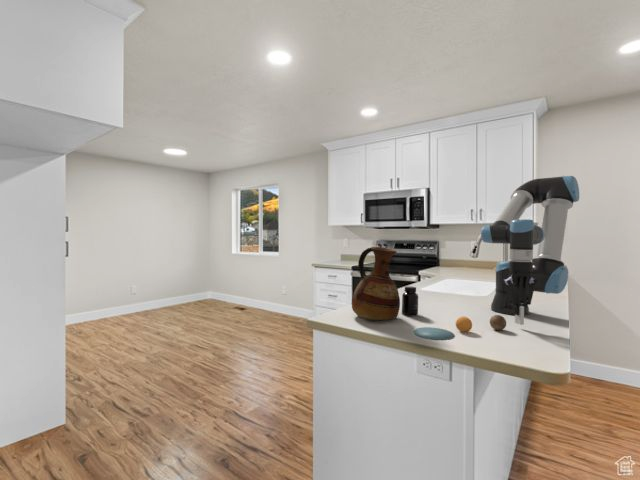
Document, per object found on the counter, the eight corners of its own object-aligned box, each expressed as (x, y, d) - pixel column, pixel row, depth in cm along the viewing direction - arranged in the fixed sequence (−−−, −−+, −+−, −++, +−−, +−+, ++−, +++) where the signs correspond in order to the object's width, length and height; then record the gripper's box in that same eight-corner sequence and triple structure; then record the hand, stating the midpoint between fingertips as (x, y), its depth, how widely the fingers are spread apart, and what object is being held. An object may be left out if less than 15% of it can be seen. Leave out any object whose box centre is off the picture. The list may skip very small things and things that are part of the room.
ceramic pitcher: (391, 327, 128) (392, 248, 127) (343, 320, 137) (344, 246, 136) (405, 315, 145) (406, 246, 144) (361, 310, 154) (362, 245, 154)
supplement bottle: (418, 316, 143) (419, 288, 143) (402, 315, 144) (402, 288, 144) (417, 312, 150) (417, 286, 149) (401, 312, 151) (401, 285, 151)
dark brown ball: (499, 327, 128) (499, 313, 128) (509, 331, 122) (510, 316, 122) (486, 328, 127) (486, 313, 127) (496, 332, 121) (496, 317, 121)
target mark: (440, 327, 128) (440, 326, 128) (462, 338, 114) (462, 338, 114) (406, 328, 125) (406, 328, 125) (424, 341, 112) (424, 340, 112)
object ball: (465, 329, 125) (466, 314, 125) (475, 333, 120) (475, 318, 120) (452, 330, 124) (452, 315, 124) (461, 334, 119) (461, 319, 119)
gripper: (513, 261, 121) (511, 327, 121) (544, 261, 123) (542, 325, 124) (498, 260, 128) (496, 321, 129) (527, 259, 130) (526, 320, 131)
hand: (519, 323), depth 126 cm, fingers closed
